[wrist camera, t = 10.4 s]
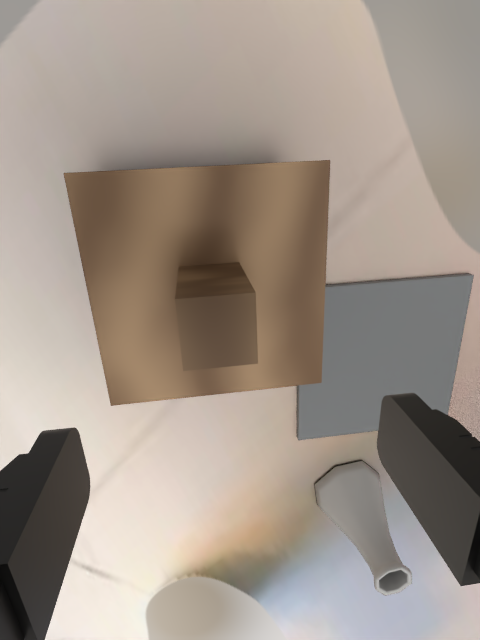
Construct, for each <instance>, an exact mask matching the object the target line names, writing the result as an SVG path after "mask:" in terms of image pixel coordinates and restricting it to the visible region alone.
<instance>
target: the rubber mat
mask: <svg viewBox="0 0 480 640" xmlns="http://www.w3.org/2000/svg"><path fill="white" fill-rule="evenodd" d="M473 276H474V275H472V274H469V273H467V274H455V275H443V276H431V277H419V278H406V279H394V280H382V281H370V282H358V283H345V284H333V285H325V307H324V333H323V359H322V383H316V384H307V385H297V438H298V440H305V439H313V438H321V437H329V436H337V435H346V434H354V433H362V432H370V431H378V429H379V420H380V411H381V403H382V399H383V397H384V396H386V395H395V394H404V393H415V394H417V395H418V396H419V397H420V398H421V399H422V400H423V401H424V402H425V403H426V404H427V405H428V406H429V407H430V408H431V409H432V410H434V409H437V410H439V411H441V412H443V413H445V414H446V415H448V410H449V405H450V399H451V394H452V389H453V383H454V378H455V373H456V367H457V362H458V357H459V351H460V346H461V341H462V335H463V330H464V324H465V319H466V314H467V308H468V303H469V298H470V292H471V287H472V282H473Z"/></svg>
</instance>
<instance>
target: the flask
mask: <svg viewBox="0 0 480 640" xmlns="http://www.w3.org/2000/svg"><path fill="white" fill-rule="evenodd" d="M315 491H316V499H317V505H318V506H319V507H320V508H321V510H322V511H323V512H324V513H325V514H326V515H327V516H328V517H329V518H330V519H331V520H332V521H333V522H334V523H335V524H336V525H337V526H338V527H339V528H340V529H341V531H342V532H343V533H344V534H345V535H346V536H347V537H348V538H349V539H350V541H351V542H352V543H353V544H354V545H355V546H356V547H357V549H358V550H359V552H360V553H361V555H362V556H363V558H364V559H365V561H366V562H367V564H368V565H369V567H370V569H371V572H372V574H373V576H374V586H375V589H376V590H377V591H378V592H380V593H381V594H383V595H385V596H387V595H391V594H395V593H399V592H401V591H402V590H404V589H405V588H406V587H408V586H409V585H410V584H412V573H411V571H410V570H409V568H407V567H406V566H404V565H403V564H402V562H401V560H400V558H399V556H398V554H397V552H396V550H395V547H394V544H393V541H392V539H391V536H390V533H389V528H388V523H387V518H386V513H385V508H384V502H383V495H382V489H381V482H380V477H379V474H378V473H377V472H376V471H375V470H373V469H372V468H371V467H369V466H368V465H367V464H366V463H364V462H363V461H359V462H355V463H350V464H346V465H342V466H337V467H334V468H333V469H332V470H331V471H330V472H329V473H328V474H326V475H325V476H324V477H323V478H322V479H321V480H319V481H318V482H317V483H316V484H315Z"/></svg>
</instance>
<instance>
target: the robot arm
mask: <svg viewBox="0 0 480 640" xmlns="http://www.w3.org/2000/svg"><path fill="white" fill-rule="evenodd" d="M377 449H378V454H379V458H380V460H381V463H382V465H383V467H384V468H385V470H386V471H387V473H388V474H389V476H390V477H391V479H392V481H393V482H394V484H395V485H396V487H397V488H398V490H399V491H400V493H401V494H402V496H403V498H404V499H405V501H406V502H407V504H408V505H409V507H410V508H411V510H412V511H413V513H414V515H415V516H416V518H417V519H418V521H419V522H420V524H421V525H422V527H423V528H424V530H425V532H426V533H427V535H428V536H429V538H430V539H431V541H432V542H433V544H434V545H435V547H436V548H437V550H438V552H439V553H440V555H441V556H442V558H443V559H444V561H445V562H446V564H447V565H448V567H449V569H450V570H451V572H452V573H453V575H454V576H455V578H456V579H457V581H458V582H459V584H460V586H464V585H471V584H477V583H480V442H479V441H478V440H477V439H476V438H475V437H472V434H471V433H470V432H469V431H468V430H467V429H466V428H464V427H463V426H462V425H461V424H460V423H459V422H458V421H457V420H455V419H454V418H452V417H450V416H448V415H446V414H445V413H443V412H441V411H439V410H437V409H434V410H432V409H431V408H430V407H429V406H428V405H427V404H426V403H425V402H424V401H423V400H422V399H421V398H420V397H419V396H418V395H417V394H415V393H404V394H395V395H386V396H384V397H383V399H382V403H381V411H380V420H379V429H378V438H377ZM89 494H90V477H89V472H88V468H87V464H86V459H85V455H84V451H83V447H82V443H81V439H80V435H79V432H78V430H77V429H76V428H66V429H56V430H47V431H42V432H41V433H40V435H39V436H38V438H37V440H36V441H35V443H34V445H33V447H32V448H31V450H30V452H29V454H20V455H18V456H17V457H16V458H15V459H14V460H12V461H11V462H10V463H9V464H8V465H7V466H6V467H4V468H3V469H2V470H1V471H0V640H45V637H46V633H47V630H48V627H49V624H50V621H51V617H52V614H53V611H54V608H55V605H56V602H57V598H58V595H59V592H60V589H61V586H62V583H63V579H64V576H65V573H66V570H67V567H68V564H69V560H70V557H71V554H72V551H73V548H74V545H75V541H76V538H77V535H78V532H79V529H80V526H81V522H82V519H83V516H84V513H85V510H86V507H87V503H88V500H89Z"/></svg>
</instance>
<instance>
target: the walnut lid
mask: <svg viewBox="0 0 480 640" xmlns="http://www.w3.org/2000/svg"><path fill="white" fill-rule="evenodd" d="M329 177H330V160H323V161H302V162H282V163H261V164H241V165H220V166H200V167H179V168H159V169H138V170H118V171H97V172H77V173H64V178H65V183H66V187H67V192H68V197H69V202H70V207H71V212H72V217H73V222H74V227H75V232H76V236H77V241H78V246H79V251H80V256H81V261H82V266H83V271H84V276H85V281H86V286H87V290H88V295H89V300H90V305H91V310H92V315H93V320H94V325H95V330H96V335H97V339H98V344H99V349H100V354H101V359H102V364H103V369H104V374H105V379H106V384H107V388H108V393H109V398H110V403H111V406H112V405H122V404H131V403H140V402H149V401H159V400H168V399H177V398H186V397H196V396H205V395H214V394H223V393H233V392H242V391H251V390H260V389H270V388H279V387H288V386H297V385H307V384H316V383H322V359H323V333H324V307H325V281H326V255H327V229H328V203H329Z"/></svg>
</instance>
